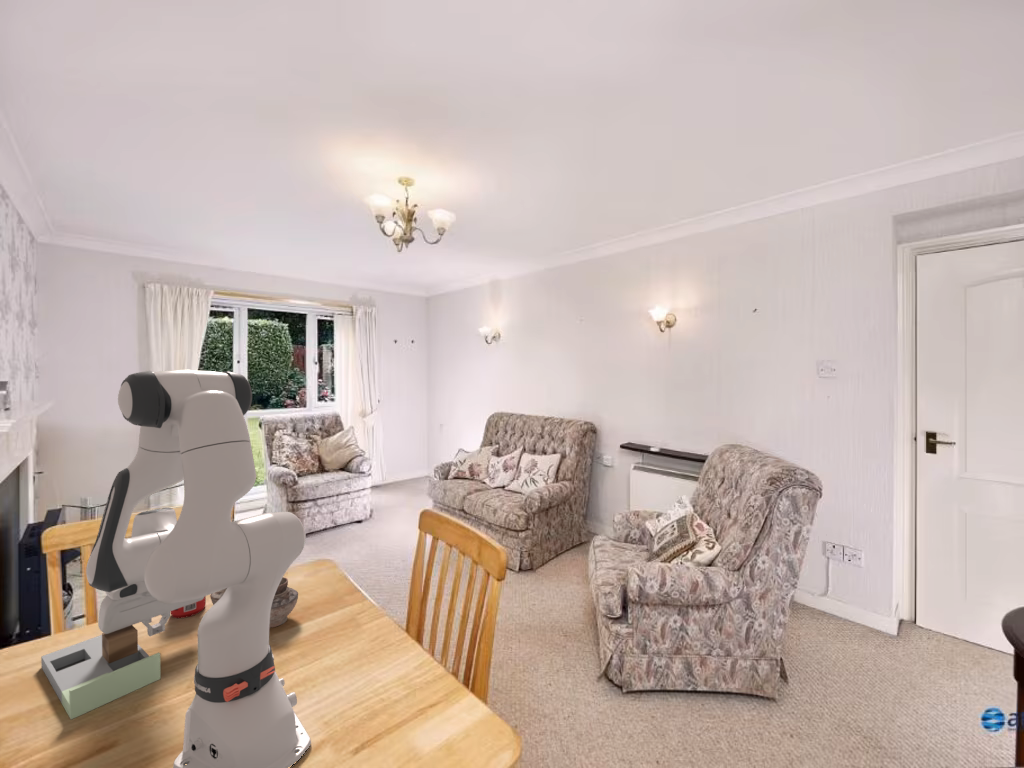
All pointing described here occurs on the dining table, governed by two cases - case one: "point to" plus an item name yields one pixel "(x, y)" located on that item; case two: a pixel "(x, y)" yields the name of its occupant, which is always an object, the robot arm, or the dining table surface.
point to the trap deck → (96, 675)
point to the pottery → (274, 602)
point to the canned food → (189, 609)
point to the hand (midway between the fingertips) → (156, 633)
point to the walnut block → (119, 643)
